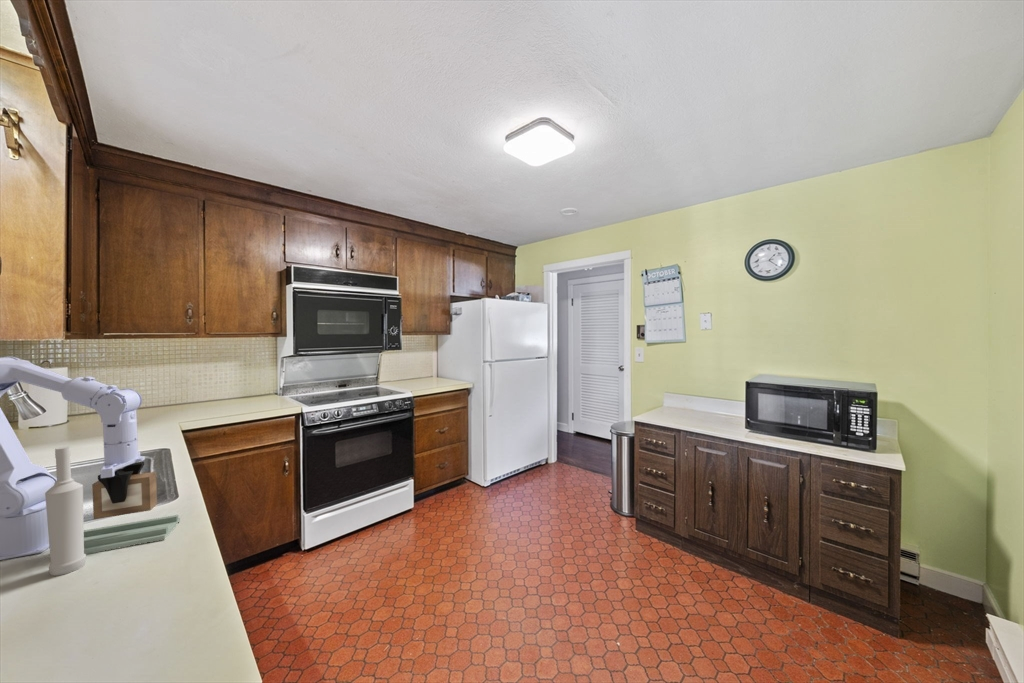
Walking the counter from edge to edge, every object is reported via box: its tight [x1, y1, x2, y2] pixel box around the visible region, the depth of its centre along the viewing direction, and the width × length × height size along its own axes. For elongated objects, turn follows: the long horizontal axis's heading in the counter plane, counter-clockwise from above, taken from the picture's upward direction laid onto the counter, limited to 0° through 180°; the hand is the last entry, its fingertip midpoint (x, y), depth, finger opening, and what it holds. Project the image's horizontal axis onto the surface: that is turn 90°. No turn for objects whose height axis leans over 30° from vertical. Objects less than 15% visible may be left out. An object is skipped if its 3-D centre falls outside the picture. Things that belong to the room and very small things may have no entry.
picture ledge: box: [84, 514, 181, 555], centre depth 94 cm, size 18×10×2 cm, turn 114°
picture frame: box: [92, 471, 158, 520], centre depth 94 cm, size 10×4×8 cm, turn 115°
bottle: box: [45, 445, 87, 577], centre depth 82 cm, size 5×5×25 cm
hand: (123, 498), depth 94 cm, fingers closed on picture frame, 4 cm apart
